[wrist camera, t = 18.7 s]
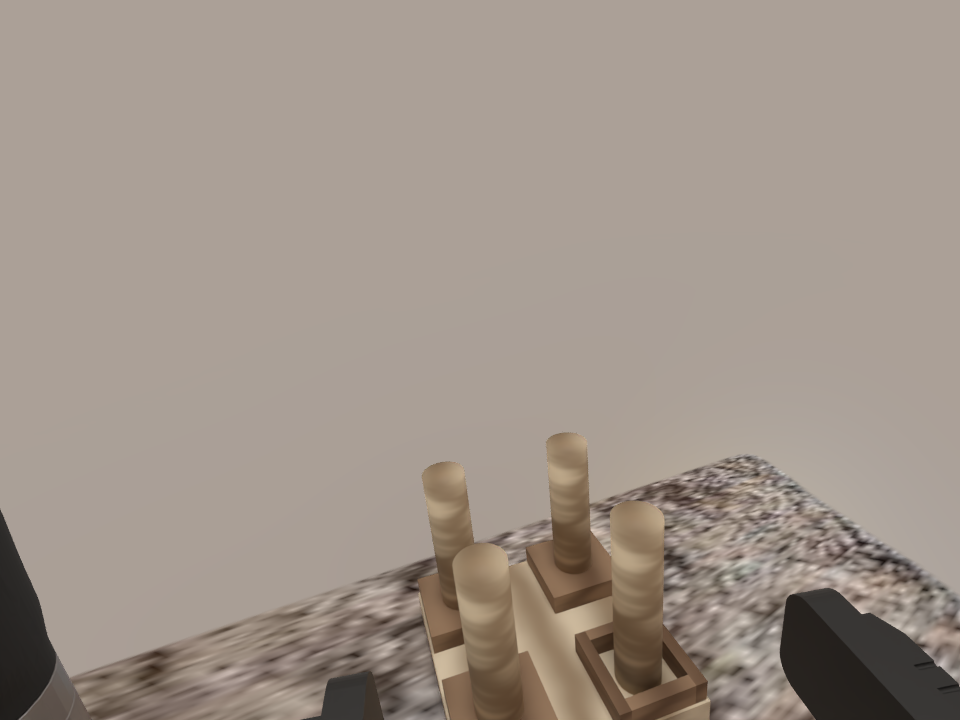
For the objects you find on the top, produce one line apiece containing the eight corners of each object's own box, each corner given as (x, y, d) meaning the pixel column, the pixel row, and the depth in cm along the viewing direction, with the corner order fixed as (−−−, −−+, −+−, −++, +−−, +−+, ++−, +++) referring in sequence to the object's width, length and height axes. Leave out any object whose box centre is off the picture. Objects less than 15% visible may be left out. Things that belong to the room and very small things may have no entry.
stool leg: (624, 700, 41) (620, 537, 36) (608, 658, 45) (603, 505, 39) (669, 692, 42) (673, 529, 36) (650, 651, 45) (651, 497, 40)
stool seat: (470, 825, 37) (434, 625, 31) (422, 615, 55) (393, 462, 49) (708, 727, 42) (721, 534, 35) (591, 562, 60) (585, 416, 53)
